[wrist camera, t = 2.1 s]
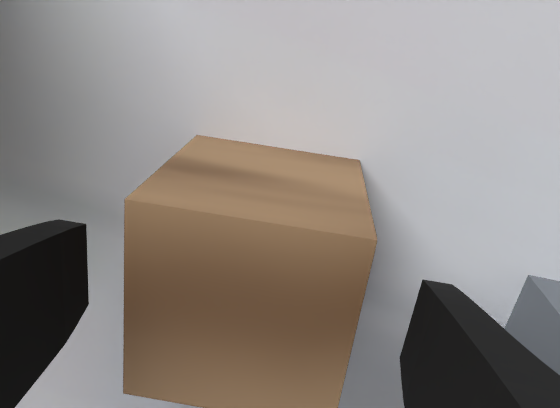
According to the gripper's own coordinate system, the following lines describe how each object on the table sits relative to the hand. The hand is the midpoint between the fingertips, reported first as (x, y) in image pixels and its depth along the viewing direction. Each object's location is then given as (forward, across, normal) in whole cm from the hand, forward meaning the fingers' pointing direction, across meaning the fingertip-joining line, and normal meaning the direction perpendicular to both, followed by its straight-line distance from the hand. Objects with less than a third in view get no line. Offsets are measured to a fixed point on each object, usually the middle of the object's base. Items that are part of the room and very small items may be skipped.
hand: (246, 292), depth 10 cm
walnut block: (+4, 0, 0) cm, 4 cm away
